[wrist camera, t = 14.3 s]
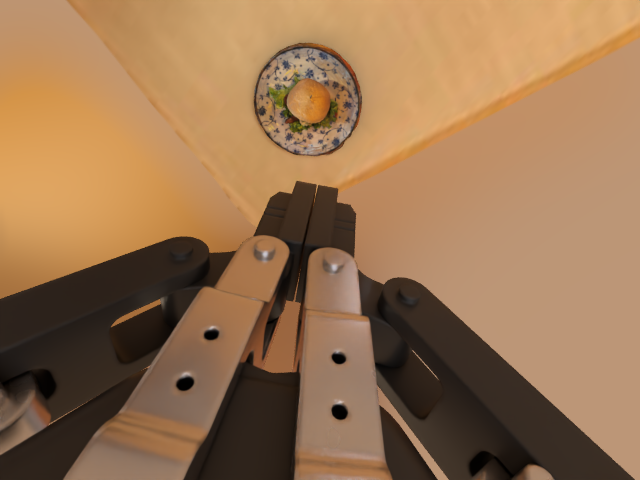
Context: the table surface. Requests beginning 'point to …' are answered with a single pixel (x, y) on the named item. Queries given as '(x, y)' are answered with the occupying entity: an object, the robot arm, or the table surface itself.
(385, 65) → the table surface
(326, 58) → the floral plate with food
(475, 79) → the table surface
